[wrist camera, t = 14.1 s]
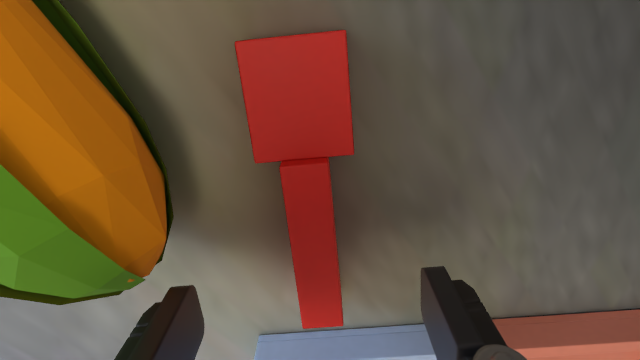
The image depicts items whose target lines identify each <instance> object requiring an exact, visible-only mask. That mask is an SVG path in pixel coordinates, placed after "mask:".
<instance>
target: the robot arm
mask: <svg viewBox="0 0 640 360" xmlns="http://www.w3.org/2000/svg"><path fill="white" fill-rule="evenodd" d="M421 312H422V317H423V321H424V324H425V327H426V330H427V333H428V336H429V339H430V341H431V344H432V347H433V350H434V353H435V355H436V358H437V360H527V359H526V358H525V357H524V356H523V355H522V354H520V353H519V352H518V351H516V350H514V349H512V348H510V347H508V346H507V344H506V343H505V341H504V339H503V337H502V336H501V334H500V332H499V331H498V329H497V327H496V326H495V324H494V322H493V321H492V319H491V317H490V316H489V314H488V312H486V309H485V307H484V306H483V304H482V302H480V299H479V297H478V295H477V294H476V292H475V290H474V289H473V288H472V287H470V286H469V285H468V284H466V283H465V282H464V281H463V280H453V281H452V280H451V278H450V276H449V274H448V272H447V271H446V269H445V267H444V266H439V267H427V268H422V269H421ZM203 335H204V318H203V315H202V311H201V307H200V303H199V299H198V295H197V292H196V289H195V287H194V286H193V285H189V286H176V287H171V288H170V289H169V290H168V292H167V294H166V295H165V297H164V299H163V300H162V302H158V303H155V304H154V305H153V306H151V307H150V308H149V309H148V310H147V311H146V312H145V313H143V315H142V317H141V318H140V320H139V321H138V323H137V324H136V327H135V328H134V329H133V331H132V332H131V334H130V337H128V339H127V340H126V342H125V343H124V345H123V347H122V348H121V350H120V351H119V353H118V354H117V356H116V358H115V359H114V360H194V359H195V357H196V354H197V351H198V349H199V346H200V344H201V341H202V338H203Z"/></svg>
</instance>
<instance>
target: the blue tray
mask: <svg viewBox="0 0 640 360" xmlns="http://www.w3.org/2000/svg"><path fill="white" fill-rule="evenodd" d="M254 360H437V358H436V355H435V353H434V350H433V347H432V344H431V341H430V339H429V336H428V333H427V330H426V327H425V324H418V325H403V326H388V327H374V328H359V329H344V330H330V331H315V332H300V333H286V334H271V335H260V336H259V339H258V344H257V349H256V354H255V358H254Z"/></svg>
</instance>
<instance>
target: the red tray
mask: <svg viewBox="0 0 640 360" xmlns="http://www.w3.org/2000/svg"><path fill="white" fill-rule="evenodd" d="M492 321H493V322H494V324H495V326H496V327H497V329H498V331H499V332H500V334H501V336H502V337H503V339H504V341H505V343H506V344H507V346H508V347H510V348H512V349H514V350H516V351H518V352H519V353H520V354H522V355H523V356H524V357H525V358H526V359H527V360H640V309H638V310H623V311H608V312H594V313H579V314H565V315H550V316H535V317H521V318H506V319H493V320H492Z"/></svg>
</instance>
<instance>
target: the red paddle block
mask: <svg viewBox="0 0 640 360" xmlns="http://www.w3.org/2000/svg"><path fill="white" fill-rule="evenodd" d="M235 49H236V55H237V61H238V67H239V73H240V78H241V84H242V90H243V96H244V102H245V108H246V114H247V120H248V125H249V131H250V137H251V143H252V149H253V155H254V161H255V163H266V162H277V161H282V162H281V165H280V168H279V169H280V176H281V183H282V189H283V196H284V203H285V210H286V217H287V224H288V231H289V238H290V244H291V251H292V258H293V265H294V272H295V279H296V286H297V292H298V299H299V306H300V313H301V320H302V327H303V329H307V328H321V327H336V326H343V311H342V295H341V283H340V273H339V262H338V251H337V240H336V230H335V219H334V208H333V197H332V187H331V176H330V165H329V157H333V156H345V155H353V154H354V142H353V127H352V112H351V97H350V82H349V67H348V52H347V37H346V30H337V31H327V32H317V33H308V34H298V35H289V36H279V37H269V38H260V39H250V40H242V41H236V42H235Z"/></svg>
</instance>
